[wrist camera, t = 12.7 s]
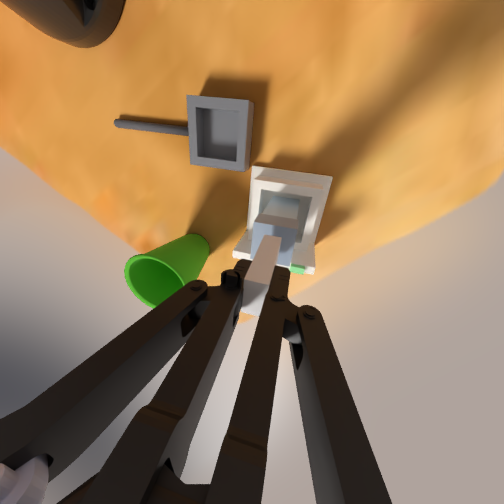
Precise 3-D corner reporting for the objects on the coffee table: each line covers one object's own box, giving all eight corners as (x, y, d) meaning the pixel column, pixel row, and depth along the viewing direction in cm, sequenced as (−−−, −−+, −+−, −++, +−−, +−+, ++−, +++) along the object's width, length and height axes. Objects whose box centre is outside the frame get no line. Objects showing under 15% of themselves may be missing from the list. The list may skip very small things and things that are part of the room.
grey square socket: (197, 98, 24) (186, 94, 22) (254, 103, 23) (248, 99, 21) (199, 162, 28) (190, 164, 26) (249, 169, 27) (243, 171, 24)
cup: (220, 225, 32) (183, 261, 22) (222, 272, 36) (192, 319, 27) (168, 218, 34) (114, 249, 24) (176, 264, 38) (133, 305, 29)
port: (253, 165, 26) (235, 174, 20) (332, 176, 25) (340, 189, 18) (247, 234, 31) (231, 259, 25) (312, 247, 30) (313, 277, 23)
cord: (117, 118, 28) (111, 118, 27) (198, 128, 26) (194, 127, 25) (118, 127, 28) (113, 127, 27) (198, 137, 26) (195, 137, 25)
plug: (271, 193, 27) (253, 221, 18) (301, 198, 26) (297, 229, 17) (268, 221, 29) (250, 258, 20) (295, 226, 28) (289, 266, 19)
